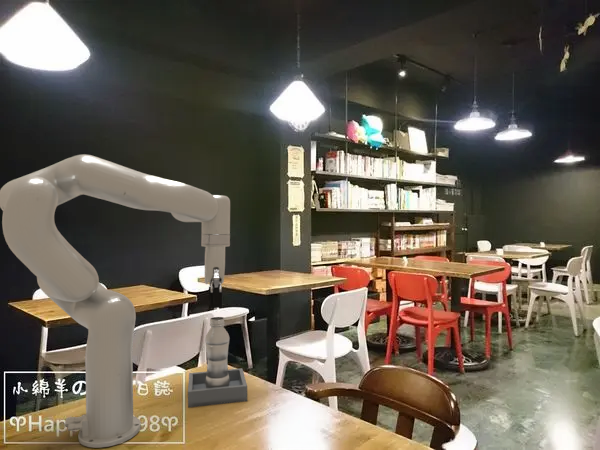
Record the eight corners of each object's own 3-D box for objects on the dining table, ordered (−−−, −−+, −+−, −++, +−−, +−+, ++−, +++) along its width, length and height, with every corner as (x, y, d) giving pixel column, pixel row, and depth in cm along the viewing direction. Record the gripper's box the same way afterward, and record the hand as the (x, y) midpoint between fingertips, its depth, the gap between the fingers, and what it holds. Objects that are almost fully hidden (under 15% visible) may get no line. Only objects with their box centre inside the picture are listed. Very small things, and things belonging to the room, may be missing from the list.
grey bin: (188, 407, 104) (187, 391, 104) (189, 387, 116) (189, 373, 116) (247, 401, 107) (247, 385, 107) (242, 381, 120) (242, 368, 120)
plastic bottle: (221, 385, 115) (220, 314, 115) (234, 392, 110) (234, 318, 110) (200, 392, 111) (199, 318, 110) (214, 400, 106) (213, 322, 105)
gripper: (201, 239, 119) (200, 298, 119) (201, 242, 102) (200, 311, 102) (227, 239, 120) (227, 297, 120) (232, 242, 104) (231, 310, 104)
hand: (215, 304), depth 111 cm, fingers open, 9 cm apart
